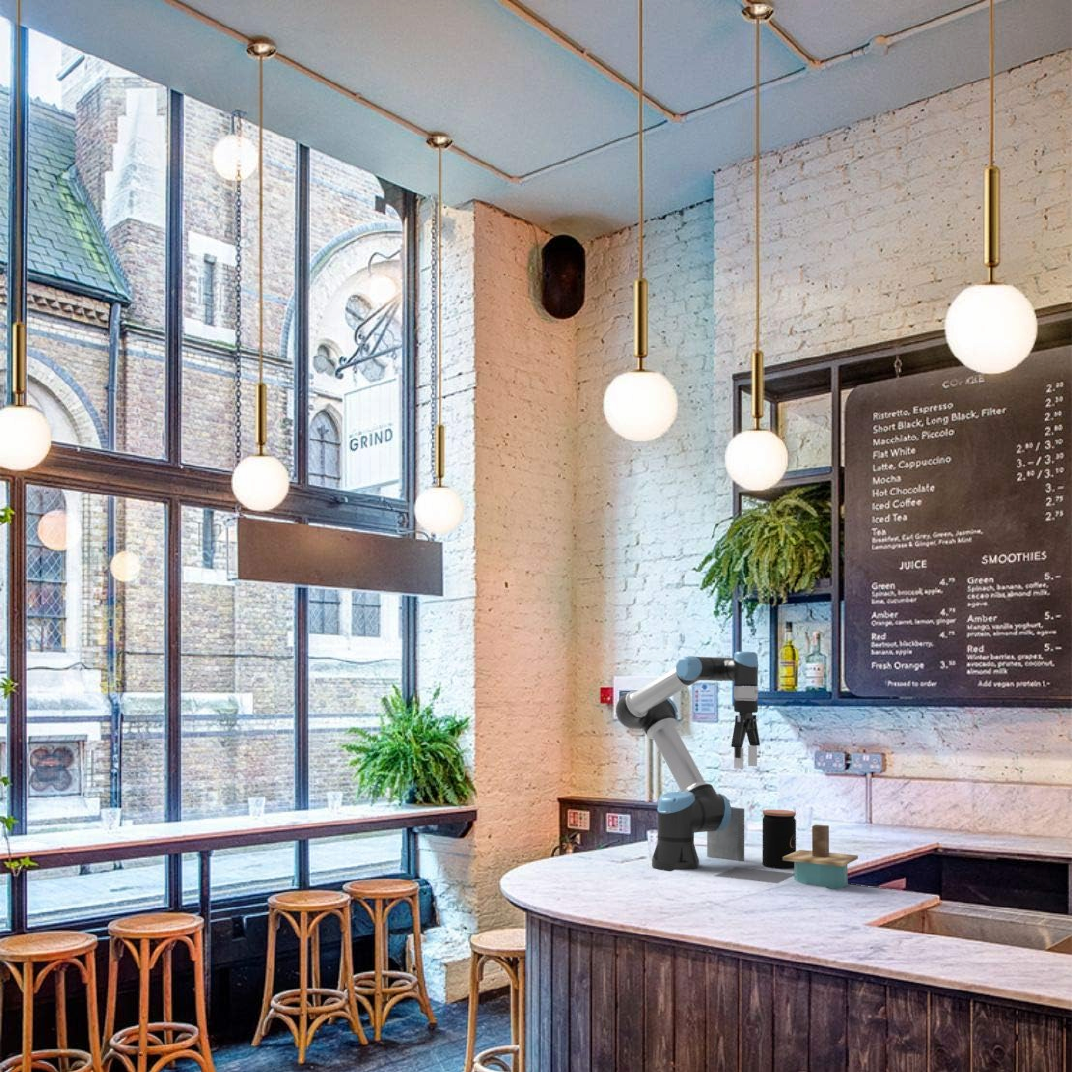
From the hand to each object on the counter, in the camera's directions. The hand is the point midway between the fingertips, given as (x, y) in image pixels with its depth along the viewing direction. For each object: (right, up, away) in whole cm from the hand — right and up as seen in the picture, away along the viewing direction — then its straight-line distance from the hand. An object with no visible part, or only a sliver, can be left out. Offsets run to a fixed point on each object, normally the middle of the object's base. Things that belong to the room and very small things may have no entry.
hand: (745, 767), depth 367 cm
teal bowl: (+19, -31, -19) cm, 41 cm away
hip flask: (-3, -36, +22) cm, 42 cm away
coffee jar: (+12, -34, +7) cm, 37 cm away
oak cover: (+19, -24, -19) cm, 36 cm away
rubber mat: (+1, -32, -11) cm, 33 cm away
